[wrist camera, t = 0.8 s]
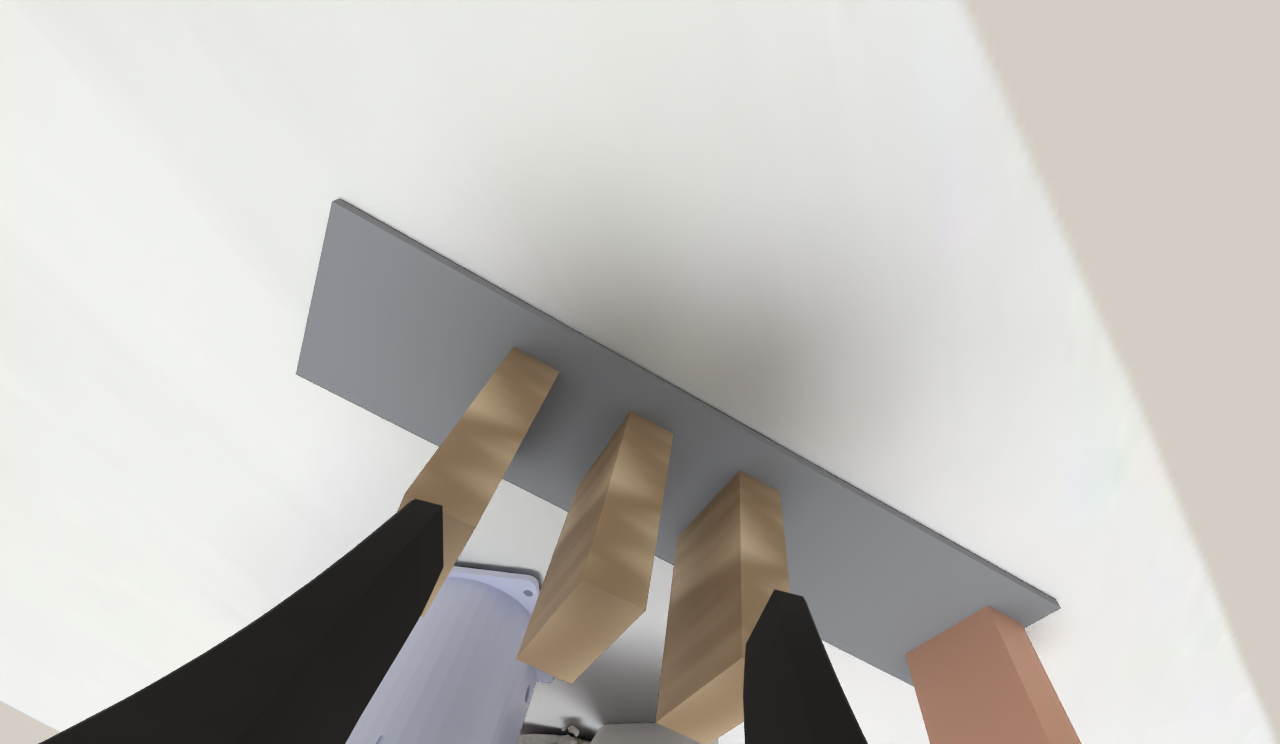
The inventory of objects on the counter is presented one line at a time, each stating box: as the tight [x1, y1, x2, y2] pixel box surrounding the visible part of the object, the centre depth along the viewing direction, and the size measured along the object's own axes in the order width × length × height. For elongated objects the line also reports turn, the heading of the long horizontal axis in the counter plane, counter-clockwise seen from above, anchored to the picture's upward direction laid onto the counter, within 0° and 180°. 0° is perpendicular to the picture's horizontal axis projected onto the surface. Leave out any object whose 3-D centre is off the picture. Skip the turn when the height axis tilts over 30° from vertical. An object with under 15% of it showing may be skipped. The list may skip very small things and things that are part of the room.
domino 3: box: [656, 471, 790, 744], centre depth 20 cm, size 2×5×8 cm, turn 151°
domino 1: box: [397, 347, 559, 617], centre depth 19 cm, size 2×5×8 cm, turn 151°
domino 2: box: [516, 411, 673, 684], centre depth 19 cm, size 2×5×8 cm, turn 151°
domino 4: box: [905, 605, 1081, 744], centre depth 22 cm, size 2×5×8 cm, turn 151°
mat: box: [296, 199, 1061, 686], centre depth 23 cm, size 34×8×1 cm, turn 61°
